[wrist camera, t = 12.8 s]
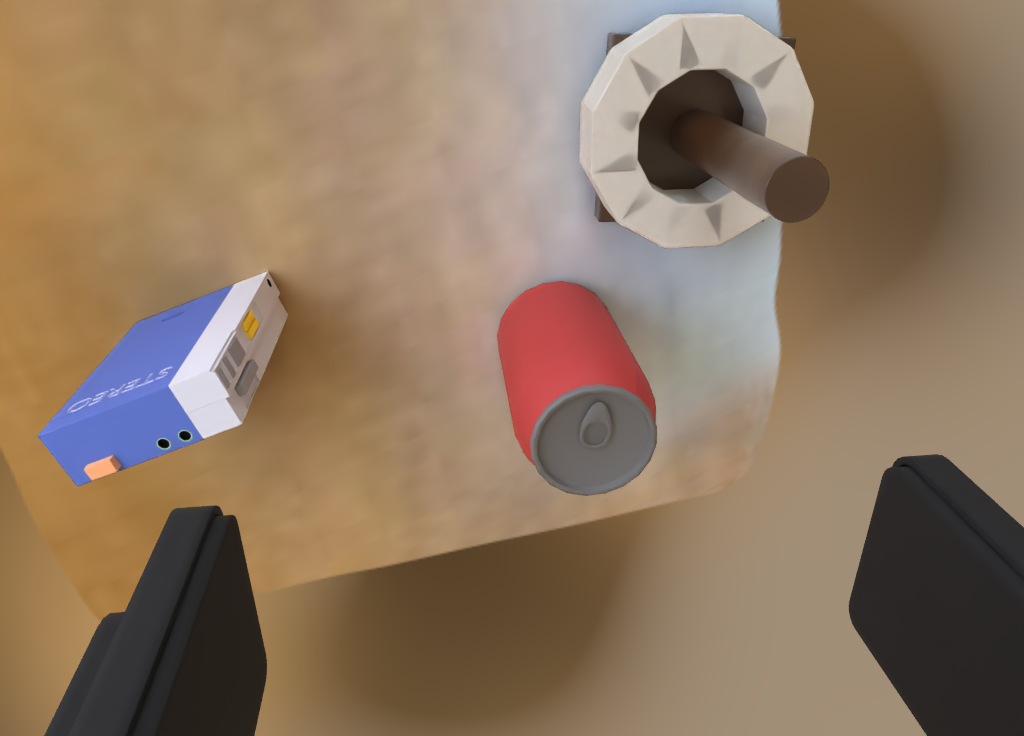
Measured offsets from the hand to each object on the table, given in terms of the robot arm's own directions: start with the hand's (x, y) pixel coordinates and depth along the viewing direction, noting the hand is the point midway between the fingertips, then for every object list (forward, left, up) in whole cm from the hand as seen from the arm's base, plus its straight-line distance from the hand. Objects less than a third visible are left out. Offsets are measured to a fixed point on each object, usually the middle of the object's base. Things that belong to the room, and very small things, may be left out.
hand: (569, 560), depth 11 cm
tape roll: (-1, +11, -30) cm, 32 cm away
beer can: (+10, +5, -31) cm, 33 cm away
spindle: (-1, +11, -31) cm, 33 cm away
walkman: (+9, -14, -31) cm, 35 cm away
